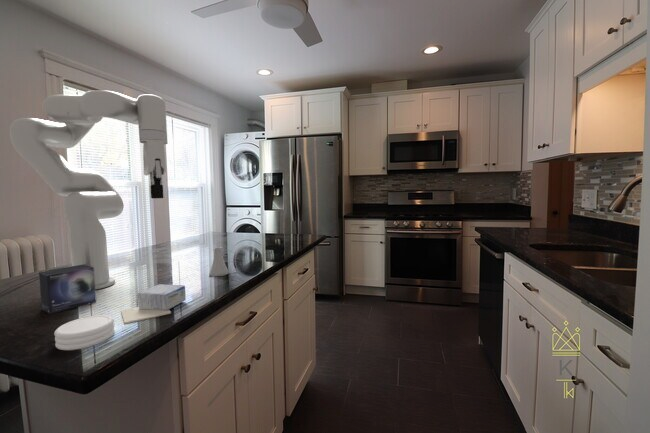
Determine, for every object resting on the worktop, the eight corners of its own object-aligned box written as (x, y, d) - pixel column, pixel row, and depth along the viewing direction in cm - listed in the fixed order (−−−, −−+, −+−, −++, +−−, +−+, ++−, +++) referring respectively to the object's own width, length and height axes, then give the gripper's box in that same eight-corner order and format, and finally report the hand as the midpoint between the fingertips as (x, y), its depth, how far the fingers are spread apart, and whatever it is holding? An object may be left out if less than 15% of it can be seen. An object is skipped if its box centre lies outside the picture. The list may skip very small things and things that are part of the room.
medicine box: (137, 309, 81) (167, 311, 79) (136, 292, 81) (166, 294, 79) (159, 298, 89) (186, 300, 87) (158, 283, 88) (185, 285, 87)
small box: (49, 315, 79) (46, 275, 78) (40, 310, 83) (37, 271, 82) (97, 302, 88) (94, 266, 87) (87, 298, 92) (84, 263, 91)
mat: (121, 311, 81) (121, 310, 81) (164, 303, 87) (163, 301, 86) (124, 324, 73) (124, 322, 73) (170, 313, 79) (170, 311, 79)
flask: (225, 276, 112) (224, 249, 112) (205, 277, 112) (204, 250, 112) (231, 271, 120) (230, 246, 119) (213, 272, 120) (211, 246, 119)
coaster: (92, 327, 72) (91, 312, 72) (125, 332, 69) (124, 316, 69) (43, 348, 63) (41, 331, 62) (78, 354, 60) (77, 337, 60)
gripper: (136, 140, 98) (140, 198, 100) (142, 133, 86) (146, 199, 88) (162, 142, 103) (166, 197, 104) (172, 135, 91) (175, 198, 92)
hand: (157, 198), depth 96 cm, fingers closed
